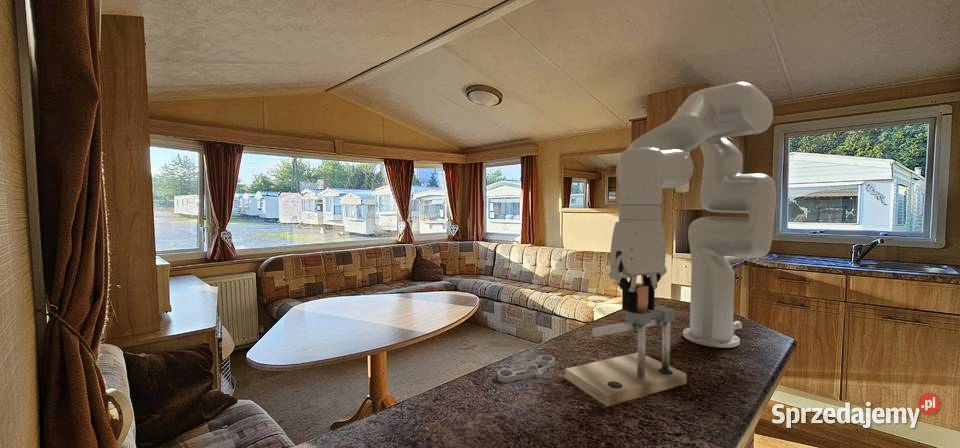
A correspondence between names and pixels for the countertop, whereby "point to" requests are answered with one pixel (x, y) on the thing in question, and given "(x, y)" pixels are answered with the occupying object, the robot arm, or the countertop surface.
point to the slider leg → (641, 324)
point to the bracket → (527, 370)
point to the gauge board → (623, 379)
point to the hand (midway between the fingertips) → (638, 308)
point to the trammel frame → (657, 317)
